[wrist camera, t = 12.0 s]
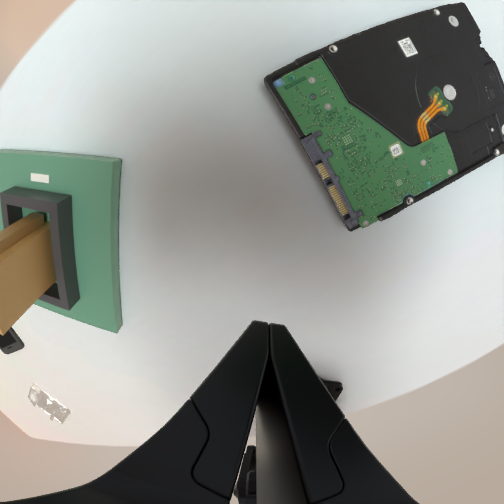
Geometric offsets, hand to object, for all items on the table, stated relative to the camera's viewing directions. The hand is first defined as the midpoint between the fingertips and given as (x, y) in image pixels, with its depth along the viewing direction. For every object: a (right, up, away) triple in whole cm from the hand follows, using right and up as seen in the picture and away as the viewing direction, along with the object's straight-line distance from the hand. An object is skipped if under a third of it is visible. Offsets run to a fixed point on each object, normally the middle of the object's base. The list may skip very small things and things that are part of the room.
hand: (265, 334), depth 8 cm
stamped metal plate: (-31, -21, +26) cm, 46 cm away
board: (-17, +3, +13) cm, 21 cm away
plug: (-17, +3, +12) cm, 21 cm away
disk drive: (+9, +11, +8) cm, 17 cm away
